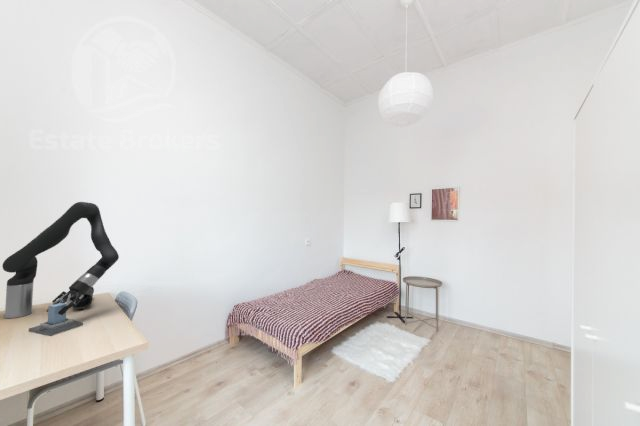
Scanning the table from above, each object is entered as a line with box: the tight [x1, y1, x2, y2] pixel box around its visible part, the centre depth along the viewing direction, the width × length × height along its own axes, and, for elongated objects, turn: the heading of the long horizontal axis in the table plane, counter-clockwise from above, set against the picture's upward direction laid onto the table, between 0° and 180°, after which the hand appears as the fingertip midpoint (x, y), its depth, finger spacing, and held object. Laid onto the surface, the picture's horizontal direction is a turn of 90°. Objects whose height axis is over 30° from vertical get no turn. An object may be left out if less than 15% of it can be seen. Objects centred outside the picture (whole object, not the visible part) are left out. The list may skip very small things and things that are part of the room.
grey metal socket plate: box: [28, 317, 84, 337], centre depth 117 cm, size 16×12×3 cm
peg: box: [47, 302, 67, 325], centre depth 117 cm, size 4×4×10 cm
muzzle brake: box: [72, 286, 95, 311], centre depth 149 cm, size 10×28×10 cm, turn 43°
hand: (54, 313), depth 116 cm, fingers open, 8 cm apart
